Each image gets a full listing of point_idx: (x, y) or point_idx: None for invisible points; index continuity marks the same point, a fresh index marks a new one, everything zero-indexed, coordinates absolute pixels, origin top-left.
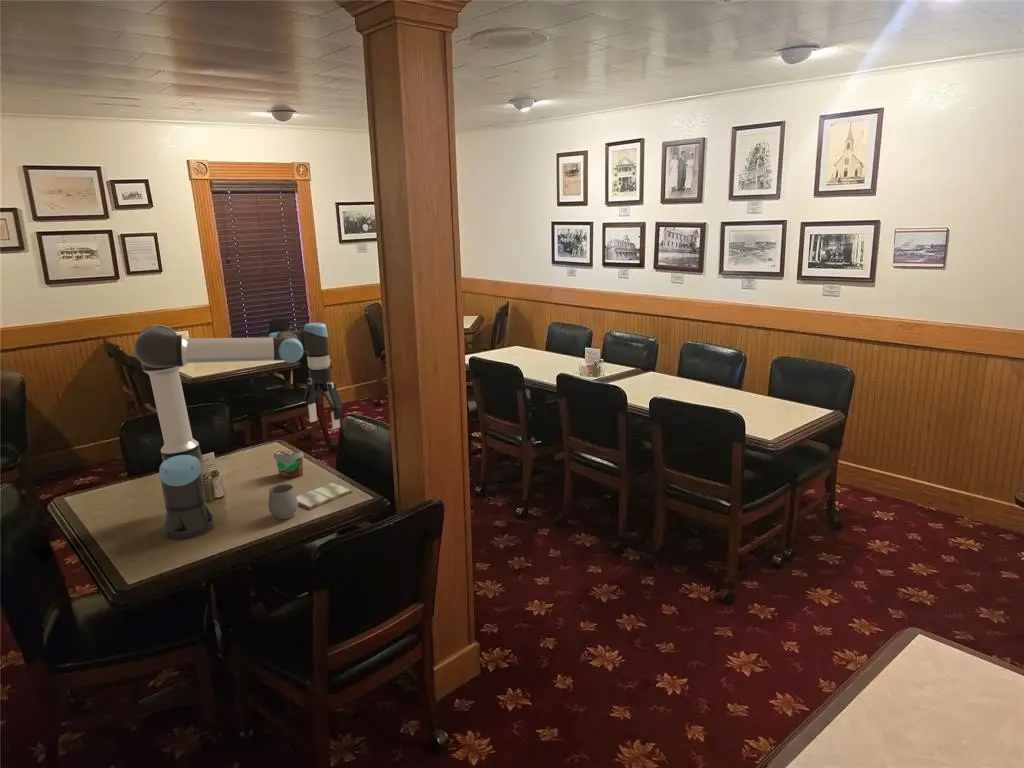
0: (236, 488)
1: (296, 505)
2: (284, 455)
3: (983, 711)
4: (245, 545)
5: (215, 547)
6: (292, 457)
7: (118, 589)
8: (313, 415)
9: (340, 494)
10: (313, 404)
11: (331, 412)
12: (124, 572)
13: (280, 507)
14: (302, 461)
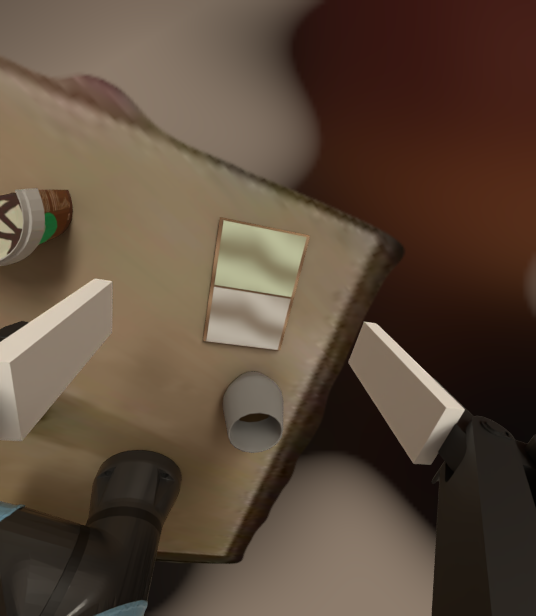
0: None
1: (281, 393)
2: (2, 259)
3: None
4: (275, 465)
5: (238, 485)
6: (32, 240)
7: (224, 562)
8: (90, 331)
9: (297, 270)
10: (17, 388)
11: (411, 452)
12: (191, 551)
13: (270, 424)
14: (43, 190)
